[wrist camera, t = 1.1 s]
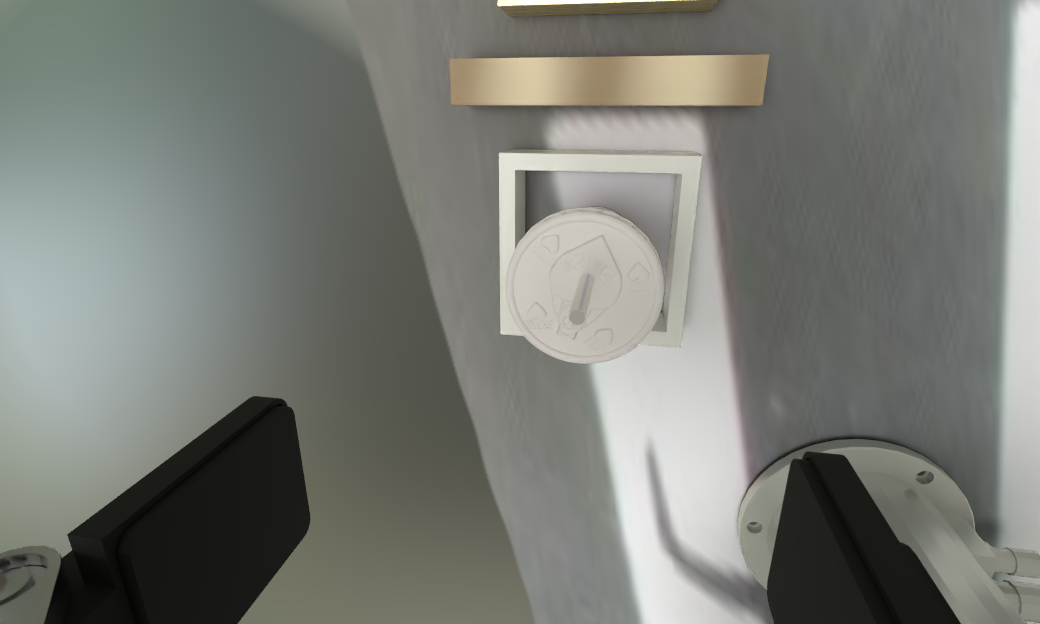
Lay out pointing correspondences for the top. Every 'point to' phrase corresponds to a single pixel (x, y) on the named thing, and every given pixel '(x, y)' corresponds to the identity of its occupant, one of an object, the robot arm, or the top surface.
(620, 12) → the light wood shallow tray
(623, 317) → the smoothie
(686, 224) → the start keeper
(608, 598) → the top surface
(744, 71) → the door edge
